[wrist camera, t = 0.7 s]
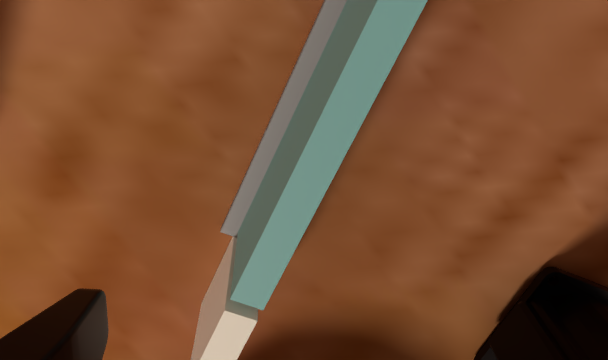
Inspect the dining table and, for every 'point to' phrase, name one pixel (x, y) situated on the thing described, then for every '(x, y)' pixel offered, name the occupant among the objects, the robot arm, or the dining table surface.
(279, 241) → the long teal plank
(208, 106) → the dining table surface
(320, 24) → the door frame
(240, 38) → the dining table surface
